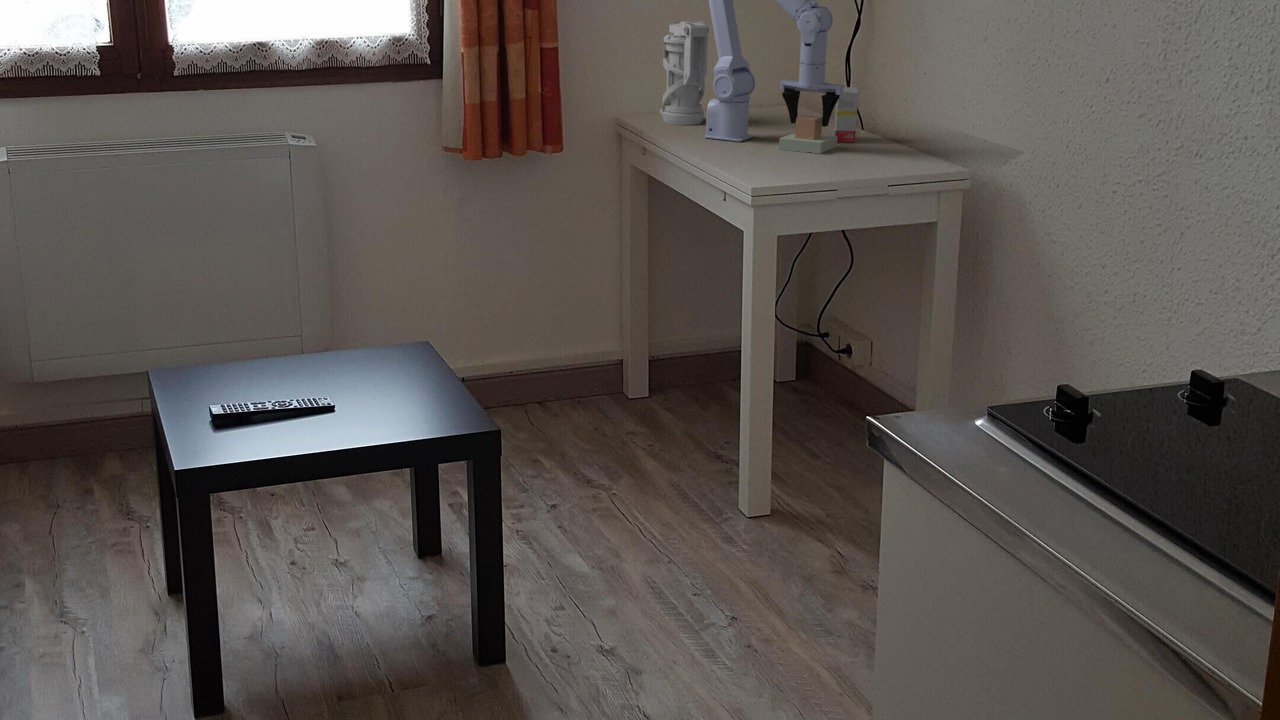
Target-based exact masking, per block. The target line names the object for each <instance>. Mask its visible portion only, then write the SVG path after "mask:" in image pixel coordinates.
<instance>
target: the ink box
mask: <svg viewBox="0 0 1280 720" xmlns="http://www.w3.org/2000/svg"><path fill="white" fill-rule="evenodd" d="M858 104H859V91H858V87H848V86H847V87H846V86H844V87H843V94H841V95H840V97H839V99H838V101H837V103H836V105H835V113H834V114H835V115H834V127H833V128H834V129H833V136H837V143H845V142H850V143H849V144H855V143H856V133H857V132H856V131H857V120H858V119H857V118H858Z"/></svg>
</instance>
